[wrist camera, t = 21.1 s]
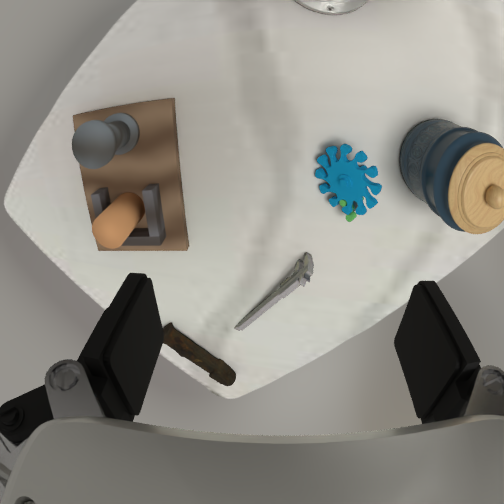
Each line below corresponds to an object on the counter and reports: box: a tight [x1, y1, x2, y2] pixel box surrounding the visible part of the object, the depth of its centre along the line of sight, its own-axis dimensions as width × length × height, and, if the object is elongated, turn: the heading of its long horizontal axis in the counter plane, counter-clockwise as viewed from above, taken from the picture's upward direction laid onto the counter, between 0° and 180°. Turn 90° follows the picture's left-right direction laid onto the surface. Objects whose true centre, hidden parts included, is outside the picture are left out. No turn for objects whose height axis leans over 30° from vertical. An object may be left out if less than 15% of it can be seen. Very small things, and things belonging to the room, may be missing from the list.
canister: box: [400, 119, 504, 234], centre depth 33 cm, size 13×13×18 cm
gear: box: [315, 144, 382, 222], centre depth 41 cm, size 11×6×10 cm
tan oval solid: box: [92, 192, 145, 249], centre depth 42 cm, size 5×5×8 cm
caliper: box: [234, 252, 314, 331], centre depth 52 cm, size 20×1×6 cm, turn 145°
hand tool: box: [163, 323, 236, 386], centre depth 61 cm, size 19×4×5 cm, turn 42°
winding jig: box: [72, 98, 189, 251], centre depth 41 cm, size 23×16×10 cm
